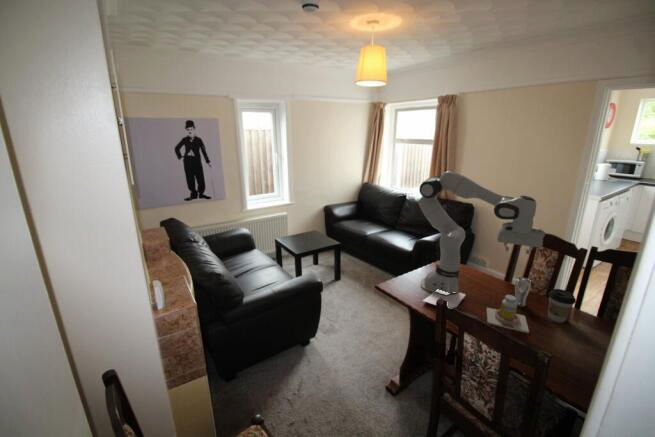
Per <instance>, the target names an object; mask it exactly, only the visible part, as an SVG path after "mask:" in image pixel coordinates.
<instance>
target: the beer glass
mask: <svg viewBox="0 0 655 437" xmlns="http://www.w3.org/2000/svg"><path fill="white" fill-rule="evenodd" d="M531 283H532V280H530V278H527V277H523V276H519V277H517V278H516V281H515V285H514V297H515V298H516V301H515V302H516V303H517V307H518V306H519V307H525V306H526V301H527V300H526V299H527V296H528V295H529V293H530V290H531Z"/></svg>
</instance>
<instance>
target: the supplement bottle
mask: <svg viewBox="0 0 655 437" xmlns="http://www.w3.org/2000/svg"><path fill="white" fill-rule="evenodd" d="M515 301H516V298H515V295H511V294H506V295H505V296H504V299H503V300H502V301H501V306H500V309H501V310H500V315H499V316H500V317H501V318H503V319H505V320H508V321H514V317H515V313H516V312H517V308H518V305H517V303H516V302H515ZM516 314H517V313H516Z"/></svg>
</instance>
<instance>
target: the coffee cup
mask: <svg viewBox="0 0 655 437" xmlns="http://www.w3.org/2000/svg"><path fill="white" fill-rule="evenodd" d="M548 297H549V298H548V309H547V316H548V318H549V320H551V321H553V322H556V323H561V324H563V323H564V322H565V321H566V320H567V319H568V316H569V315H570V312H571V310H572V308H573V306H574V305H575V304H576V303H577V301H576V300H577V299H576V297H575V295H574V294H573V293H572V292H570V291H568V290H565V289H560V288H554V289H551V290H550V291H549V292H548Z"/></svg>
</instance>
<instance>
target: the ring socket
mask: <svg viewBox="0 0 655 437" xmlns="http://www.w3.org/2000/svg"><path fill="white" fill-rule="evenodd" d="M500 310H501V308H499V309H495V308H491V307H486V320H487V321H486V322H487V323H489V324H488V325H491V324H492V326H496V327H501V328H505V329H509V330H512V331H517V332H520V333H521V332H522V333H526V334H530V330H529V326H528V322H527V319H526V316H525V315H523V314H518V313H515V317H514V321H508V320H505V319H503V318H501V317H500V316H499V315H500Z"/></svg>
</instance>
